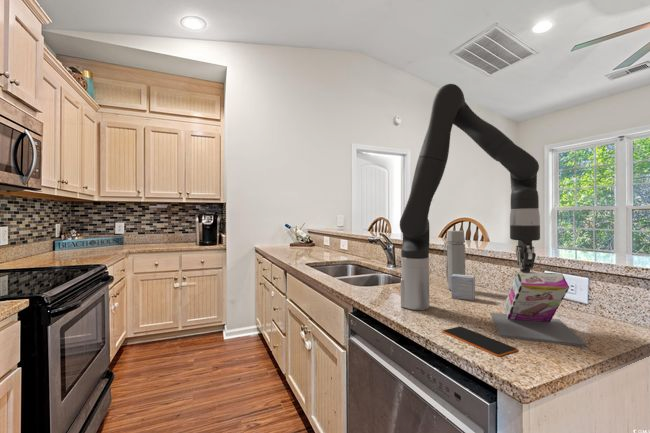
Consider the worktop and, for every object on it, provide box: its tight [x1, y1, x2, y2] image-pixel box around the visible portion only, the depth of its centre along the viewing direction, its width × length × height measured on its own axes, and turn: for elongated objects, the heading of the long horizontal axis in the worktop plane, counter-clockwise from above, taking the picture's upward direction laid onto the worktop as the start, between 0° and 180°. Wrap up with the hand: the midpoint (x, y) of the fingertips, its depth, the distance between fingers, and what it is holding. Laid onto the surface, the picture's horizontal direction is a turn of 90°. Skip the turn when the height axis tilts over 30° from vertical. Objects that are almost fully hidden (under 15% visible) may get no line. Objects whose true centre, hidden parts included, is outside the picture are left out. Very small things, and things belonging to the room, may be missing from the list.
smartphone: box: [441, 326, 519, 358], centre depth 77 cm, size 8×17×1 cm, turn 25°
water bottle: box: [441, 230, 466, 291], centre depth 129 cm, size 9×8×25 cm
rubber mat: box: [490, 312, 588, 348], centre depth 84 cm, size 18×19×1 cm
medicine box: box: [450, 274, 476, 301], centre depth 116 cm, size 8×4×9 cm, turn 58°
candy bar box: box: [503, 271, 570, 322], centre depth 84 cm, size 11×5×16 cm
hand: (525, 281), depth 91 cm, fingers closed
